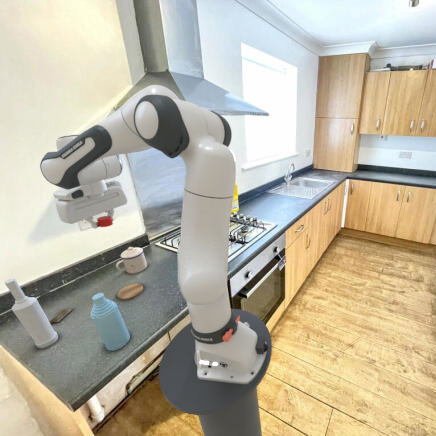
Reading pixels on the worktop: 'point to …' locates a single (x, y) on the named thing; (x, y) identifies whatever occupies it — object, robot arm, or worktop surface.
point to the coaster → (130, 291)
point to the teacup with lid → (133, 260)
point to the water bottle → (109, 322)
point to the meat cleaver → (60, 315)
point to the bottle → (32, 316)
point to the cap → (105, 221)
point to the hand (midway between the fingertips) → (103, 224)
